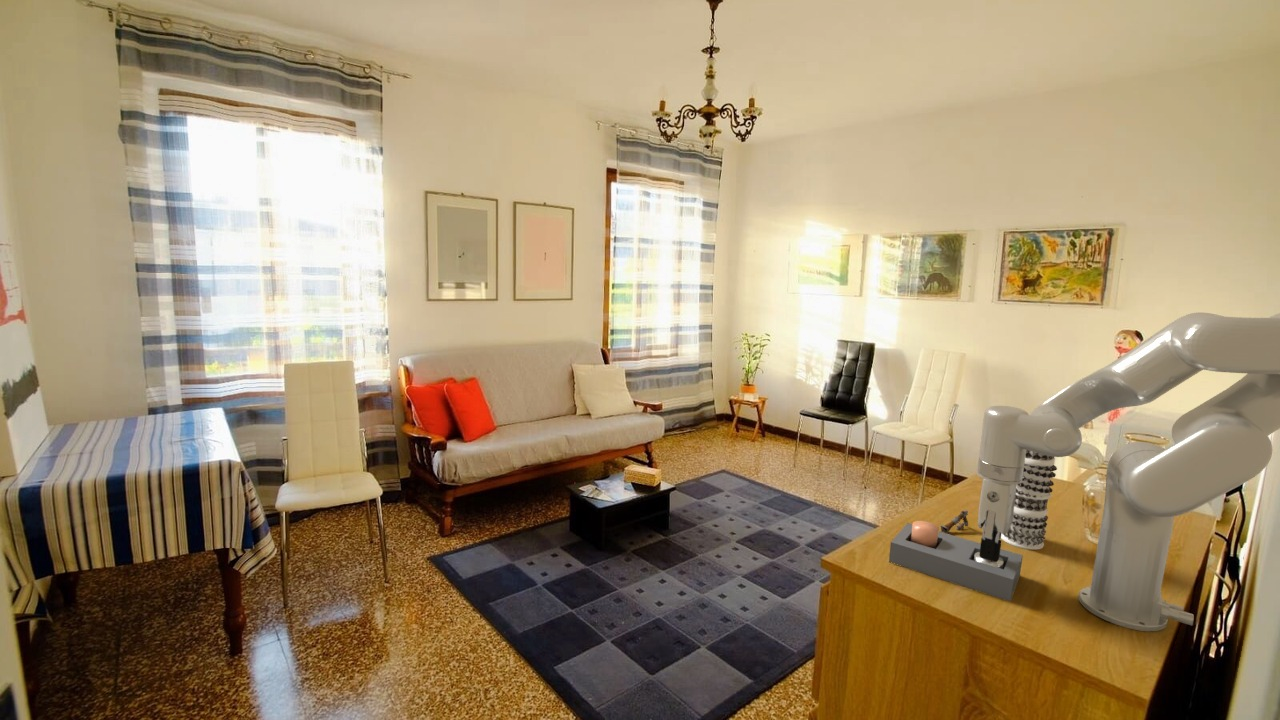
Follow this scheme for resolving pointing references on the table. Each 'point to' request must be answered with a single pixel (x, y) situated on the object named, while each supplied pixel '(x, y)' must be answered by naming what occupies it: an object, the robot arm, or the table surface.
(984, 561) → the cream short cylinder
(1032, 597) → the table surface
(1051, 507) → the table surface
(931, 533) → the terracotta plunger
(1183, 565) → the table surface
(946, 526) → the wooden post with brackets
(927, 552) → the button housing
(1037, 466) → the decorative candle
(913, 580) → the table surface
